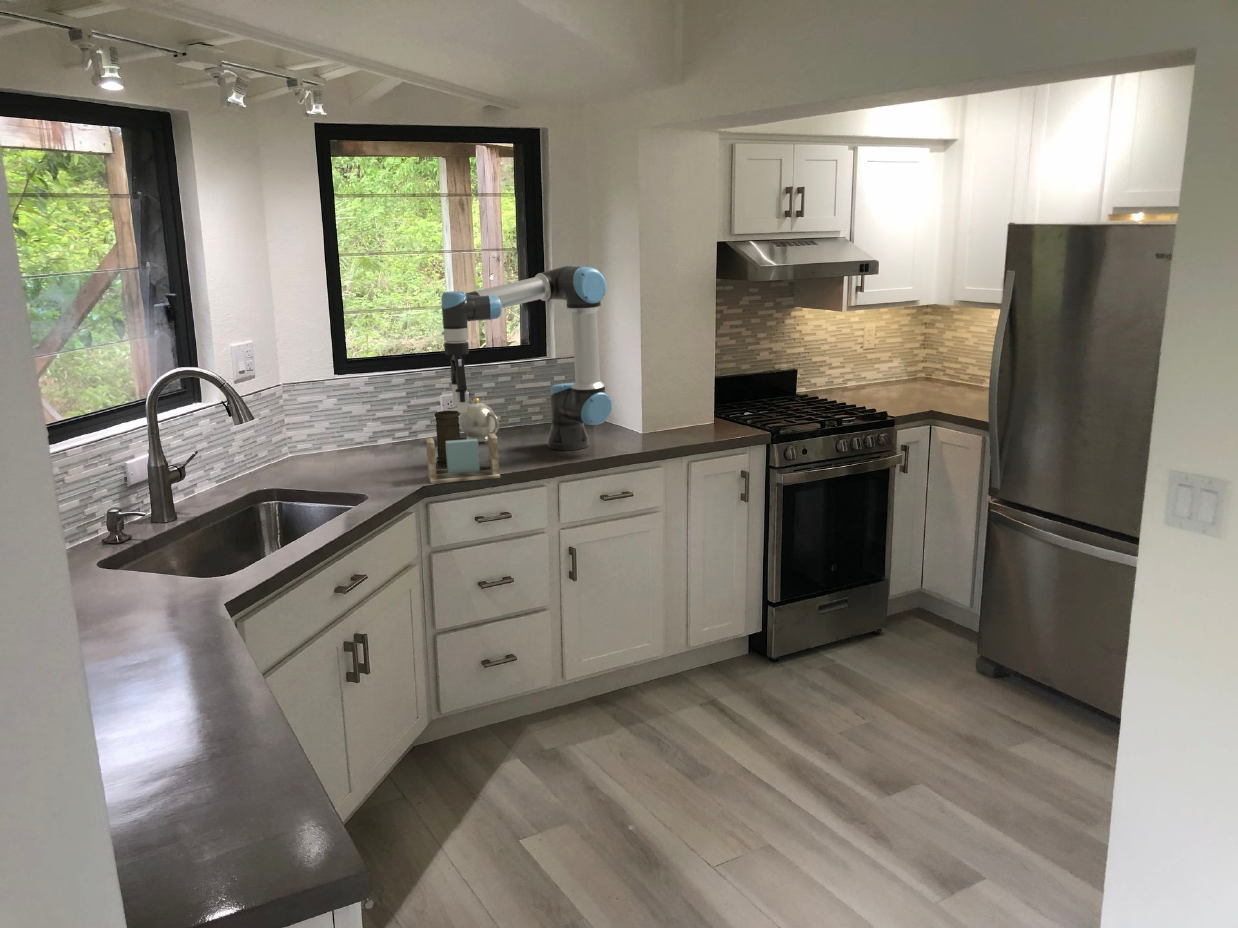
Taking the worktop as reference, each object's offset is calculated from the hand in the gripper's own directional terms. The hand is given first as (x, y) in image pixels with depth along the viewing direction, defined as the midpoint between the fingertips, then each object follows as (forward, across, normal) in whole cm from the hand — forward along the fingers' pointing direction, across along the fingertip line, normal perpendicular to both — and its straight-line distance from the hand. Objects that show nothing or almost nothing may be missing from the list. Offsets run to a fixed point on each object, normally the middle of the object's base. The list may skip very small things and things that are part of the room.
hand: (460, 408), depth 309 cm
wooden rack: (+22, 0, 0) cm, 23 cm away
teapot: (+23, -50, +13) cm, 56 cm away
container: (+23, -18, -2) cm, 29 cm away
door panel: (+22, 0, 0) cm, 22 cm away
